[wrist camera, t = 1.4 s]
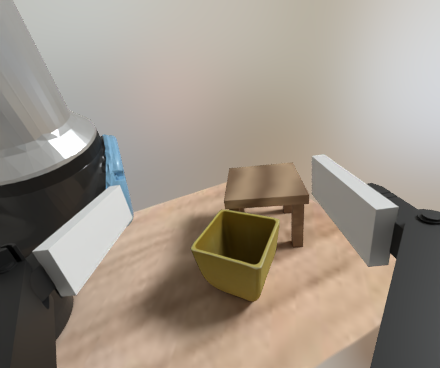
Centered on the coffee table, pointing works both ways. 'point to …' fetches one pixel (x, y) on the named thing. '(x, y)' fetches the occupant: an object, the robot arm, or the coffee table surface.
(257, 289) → the flower pot
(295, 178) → the stool
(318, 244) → the coffee table surface
